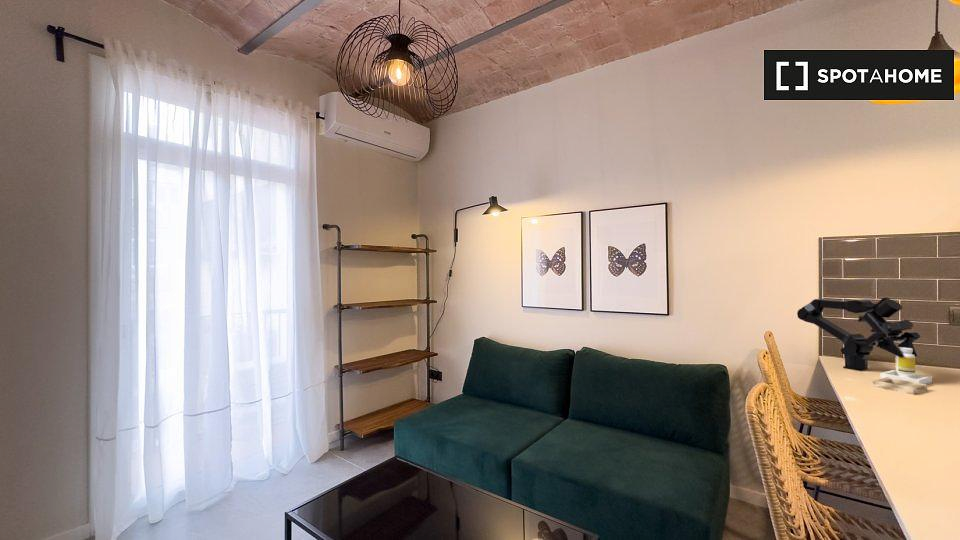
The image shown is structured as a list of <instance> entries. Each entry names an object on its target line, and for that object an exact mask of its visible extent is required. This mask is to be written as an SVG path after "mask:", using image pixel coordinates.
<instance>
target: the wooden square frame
mask: <svg viewBox="0 0 960 540" xmlns="http://www.w3.org/2000/svg"><path fill="white" fill-rule="evenodd" d="M872 387H874V388H881V389H885V390H889V391H895V392H899V393H904V394H909V395H916V394H920V393H923V392H926V391H928V384H927V385H926V384H920V383H915V382H910V381H904V380H899V379H893V378H888V377H886V378H882V379H880V378H879V379H876V380H875V379H874V380H873V381H872Z"/></svg>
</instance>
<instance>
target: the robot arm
mask: <svg viewBox="0 0 960 540" xmlns="http://www.w3.org/2000/svg"><path fill="white" fill-rule="evenodd" d="M827 308H828V309H834V310H835V309H837V310H845V311H847V312H850V313H854V314H863V315H859V316H858V320H857V322H858V323H866V324H867V325H868V326H869V327H870V328H871V329H870V330H869V331H870V332H871V335H869V336H867V337H866V336H864V335H863V334H862V333H850V332H848V331H847V330H845V329H843V328H842V327H840V326H838V325H836V324H835V323H833V322H832V321H829V320H828V319H826V318H825V317H824V316H823V314H822V313H823V312H824V309H827ZM902 309H903V305H901V303H900V302H897V301H896V300H894V299H892V298H891V299H890V298H889V297H883V298H881V299H880V301H878V302H876V303H874V302H873V301H871V300H869V299H857V300H855V299H853V300H836V299H824V298H814V299H813V300H811V302H809V303H807V304H805V305H803V306H802V307H801V308H798V311H797V313H796V316H797V318H798V319H799V320H801V321H804V322H806V323H810V324H813V325H815V326H816V327H819V329H822V330H823V331H824V332H825V333H828V334H829V335H831V336H833V337H834V338H836V339H837V340H839V341H841V342H842V344H843V346H844V347H841V349H840V352H841V355H844V365H843V366H842V368H844V369H850V370H853V371H854V370H855V371H859V372H860V371H866V370H869V361H868V358H867V356H870V355H871V352H872V351H873V349H874V346H876V347H877V348H880V349H882V350H884V351H886V352H889V353H891V354H893V355H894V356H895V355H897V356H899V357H901V358H902V357H904V356H903V354H902V353H901V351H900V350H899V349H898V347H905V348H911V349H913V352H912V354H913V355H915V358H916V357H917V356H918V354H917V352H916V349H915V347H914V344H913V343H914V342H915V341H916V340H918V339H919V338H921V335H920V333H918V331H917V332H915V331H906V330H912V329H913V327H914V323H913V322H912V321H910V320H909V319H903V320H899V321H894V322H889V321H887V320H886V319H890V318H892V317H893V316H894V315H896V314H897V313H899V312H900V311H901V310H902ZM885 318H886V319H885ZM903 331H905V332H904V333H903ZM876 342H877V343H876ZM895 342H897V343H898V344H897V346H896V344H895Z"/></svg>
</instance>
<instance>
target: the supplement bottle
mask: <svg viewBox="0 0 960 540" xmlns="http://www.w3.org/2000/svg"><path fill="white" fill-rule="evenodd" d="M897 348H898V349H899V350H900V351H901V353H902V354H903V356H904V357H902V358H901V357H899V356H897V355H895V354H894V357H895V358H894V370H895V371H896V372H899V373H905V374H914V373H915V374H916V357H915V355H913V354H912V352H913V349H911V348H905V347H898V346H897Z"/></svg>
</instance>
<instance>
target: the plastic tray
mask: <svg viewBox="0 0 960 540" xmlns="http://www.w3.org/2000/svg"><path fill="white" fill-rule="evenodd" d="M879 377H880V378H879V379H882V378H886V377H888V378H893V379H899V380H904V381H910V382H915V383H920V384H926V385H927V386H928V385H929V384H932V383H933V376H932V375H925V374H921V373H916V372H915V373H914V374H905V373H899V372H896V371H895V369H892V370H887V371H884V372H880V375H879Z"/></svg>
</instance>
